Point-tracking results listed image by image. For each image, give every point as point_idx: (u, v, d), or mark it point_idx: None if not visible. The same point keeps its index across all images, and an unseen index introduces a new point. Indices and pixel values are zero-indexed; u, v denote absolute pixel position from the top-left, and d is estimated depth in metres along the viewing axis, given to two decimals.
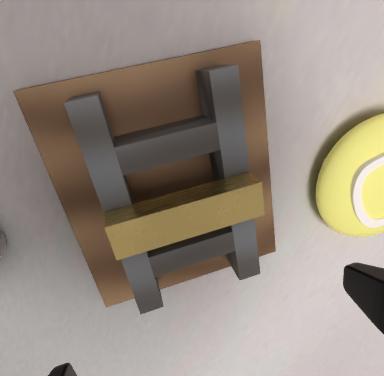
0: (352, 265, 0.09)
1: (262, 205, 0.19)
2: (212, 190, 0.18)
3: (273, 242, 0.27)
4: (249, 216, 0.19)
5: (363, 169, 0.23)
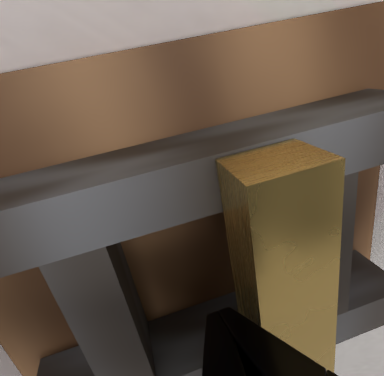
0: (223, 310, 0.09)
1: (315, 171, 0.06)
2: (245, 274, 0.08)
3: (373, 7, 0.11)
4: (334, 202, 0.07)
5: None
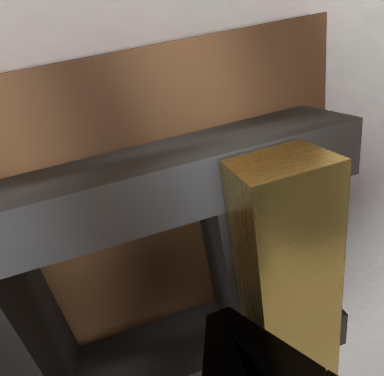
0: (223, 310, 0.09)
1: (321, 171, 0.06)
2: (249, 276, 0.08)
3: (299, 21, 0.10)
4: (340, 204, 0.07)
5: None
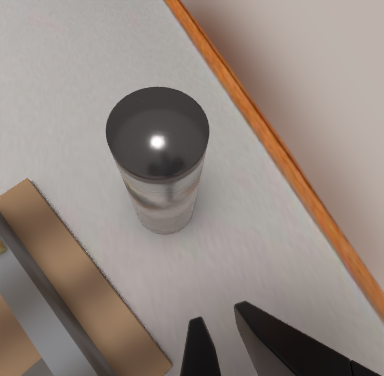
0: (239, 305, 0.09)
1: None
2: None
3: None
4: None
5: None
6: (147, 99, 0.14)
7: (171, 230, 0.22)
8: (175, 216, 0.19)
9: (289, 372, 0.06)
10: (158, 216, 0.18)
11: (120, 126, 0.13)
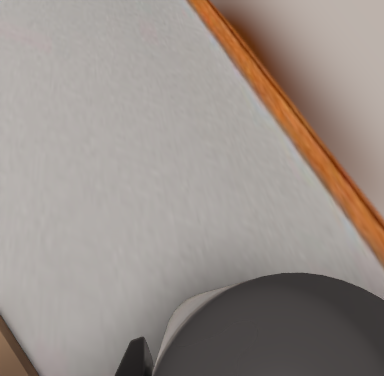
0: None
1: None
2: None
3: None
4: None
5: None
6: (262, 328, 0.04)
7: None
8: None
9: None
10: None
11: None
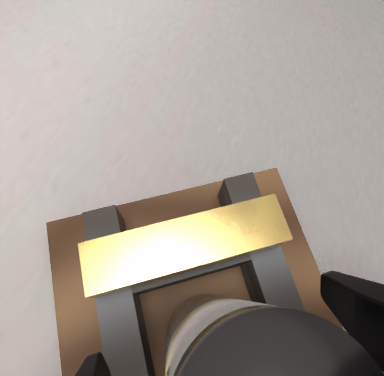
0: (328, 273, 0.09)
1: (82, 258, 0.13)
2: (155, 278, 0.14)
3: (50, 238, 0.18)
4: (102, 242, 0.13)
5: None
6: (254, 349, 0.06)
7: None
8: None
9: None
10: None
11: None
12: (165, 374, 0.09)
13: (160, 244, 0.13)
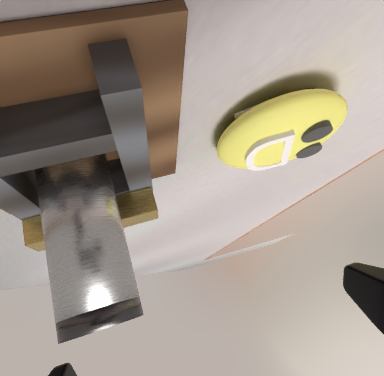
0: (352, 265, 0.09)
1: (156, 215, 0.24)
2: None
3: (174, 169, 0.29)
4: (145, 220, 0.24)
5: (261, 144, 0.24)
6: None
7: None
8: (66, 200, 0.16)
9: None
10: (87, 205, 0.17)
11: None
12: None
13: None
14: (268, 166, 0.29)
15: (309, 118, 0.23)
